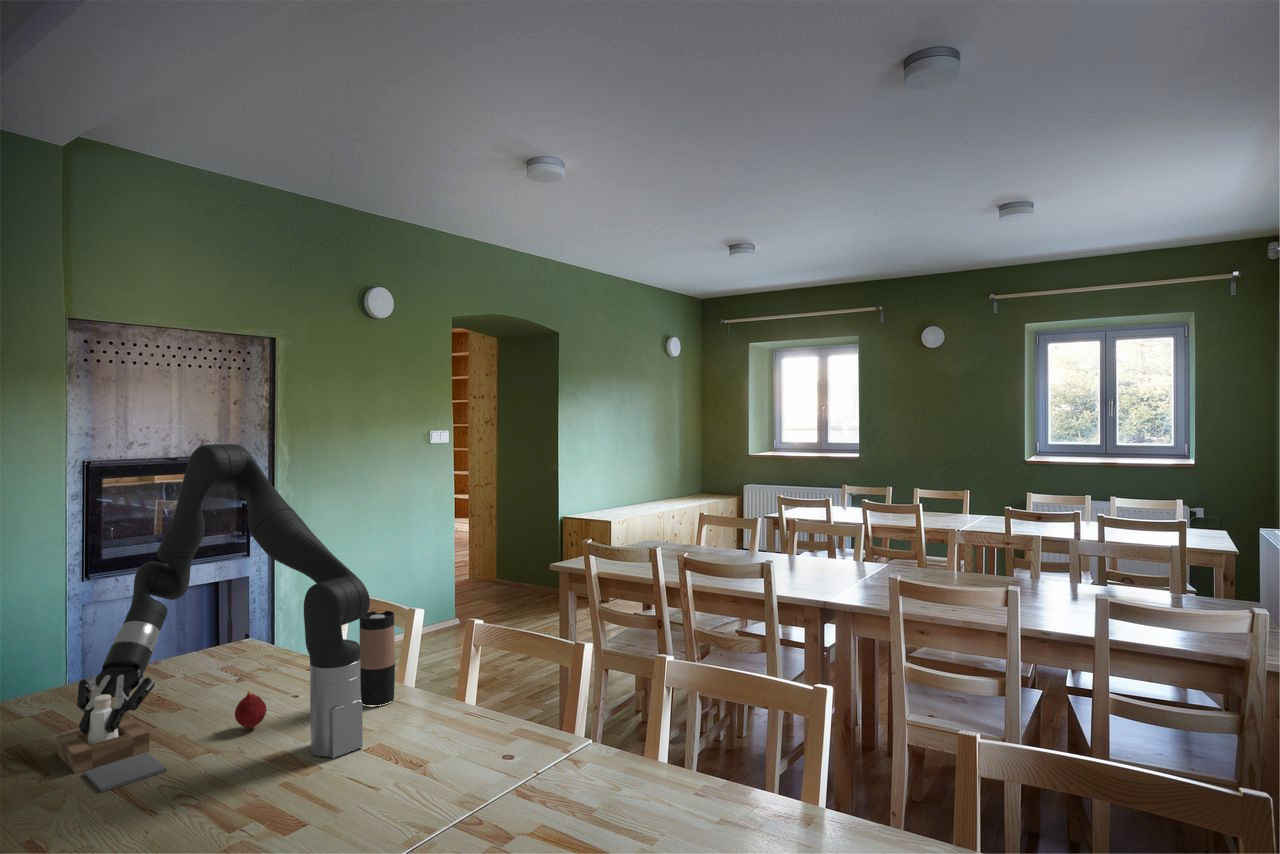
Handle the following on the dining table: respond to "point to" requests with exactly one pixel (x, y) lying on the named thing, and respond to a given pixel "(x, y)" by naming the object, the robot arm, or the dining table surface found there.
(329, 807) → the dining table surface
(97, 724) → the pepper shaker
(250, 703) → the onion
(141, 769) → the rubber pad
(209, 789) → the dining table surface
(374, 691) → the travel mug
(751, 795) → the dining table surface
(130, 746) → the socket block
